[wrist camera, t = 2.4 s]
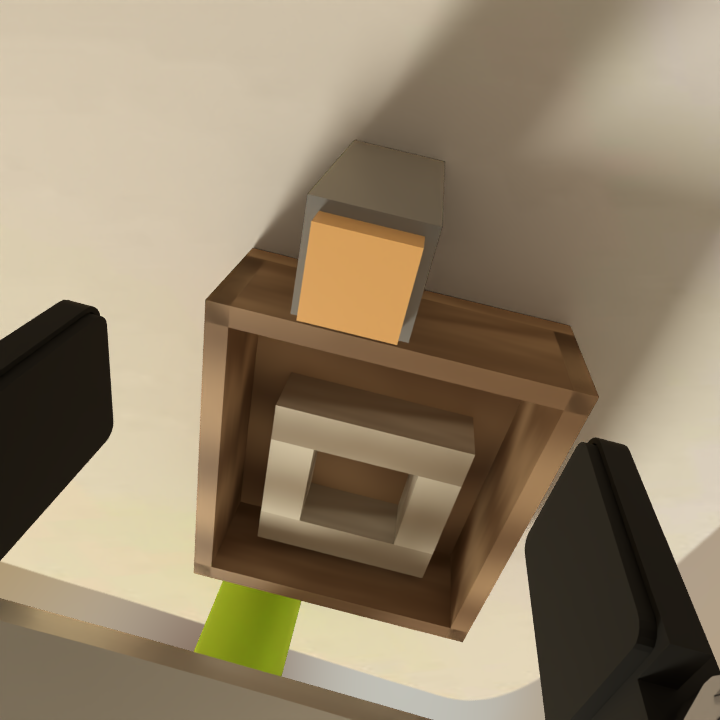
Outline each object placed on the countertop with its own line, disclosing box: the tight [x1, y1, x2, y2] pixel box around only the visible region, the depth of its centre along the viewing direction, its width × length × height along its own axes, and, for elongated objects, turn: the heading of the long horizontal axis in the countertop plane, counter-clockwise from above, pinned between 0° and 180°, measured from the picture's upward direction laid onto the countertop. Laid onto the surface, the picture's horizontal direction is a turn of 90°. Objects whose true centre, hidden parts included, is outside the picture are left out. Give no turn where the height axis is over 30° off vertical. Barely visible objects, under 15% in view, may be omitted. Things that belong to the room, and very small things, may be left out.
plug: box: [291, 140, 445, 345], centre depth 20 cm, size 4×4×10 cm
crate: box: [194, 248, 599, 642], centre depth 28 cm, size 18×16×6 cm
